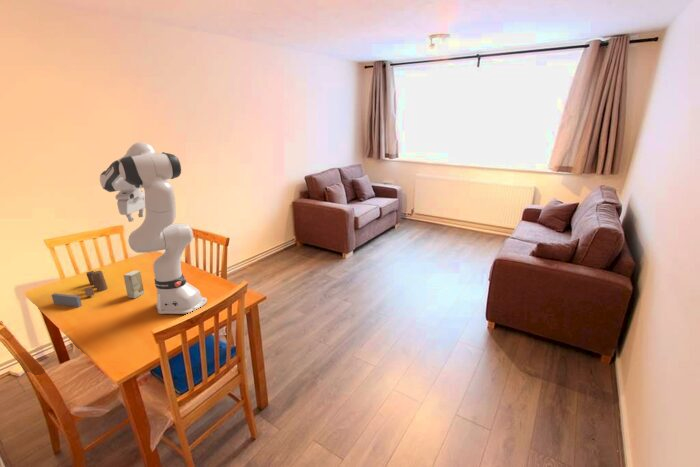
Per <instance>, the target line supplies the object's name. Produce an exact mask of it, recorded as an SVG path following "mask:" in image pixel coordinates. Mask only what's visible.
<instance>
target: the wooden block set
mask: <svg viewBox="0 0 700 467" xmlns="http://www.w3.org/2000/svg"><path fill="white" fill-rule="evenodd" d="M86 276H87V279H88V282H89V285H93V286H88V287H85V288H84V289H83V290H84V292H85V296H86V297H87V298H88V297H91V296H94V295H95V291H94V289H96V290H97V292H104V291H107V290H108V285H107V282H106V279H105V276H104V273H103V271H102V270H97V271H94V270H90V271H87V272H86Z"/></svg>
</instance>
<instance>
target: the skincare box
mask: <svg viewBox="0 0 700 467" xmlns="http://www.w3.org/2000/svg"><path fill="white" fill-rule="evenodd" d="M123 279H124V285H125V289H126V290H125V291H126V295H127V298H129V299H137V298H138V297H139V296H140V297H141V296H142V295H144V294H145V289H144V284H143V279H142V272H141V271H140V270H132V271H129V272H126V273H125V274H123Z"/></svg>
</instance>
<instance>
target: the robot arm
mask: <svg viewBox="0 0 700 467" xmlns="http://www.w3.org/2000/svg"><path fill="white" fill-rule="evenodd" d="M181 173H182V165H181V161H180V160H179V158H178V157H177V155H175V154H173V153H169V152H163V151H161V153H160V152H159V153H157V152H156V150H155V148H154V147H153V146H152V145H151V144H149V143H147V142H143V141H142V142H141V141H139V142H136V143H134V144H132V145H131V146H130V147H129V148H128V150H127V151H126V153H125V155H123V156H122V157H120V158H118V159H117V160H114V161H113V162H112V163H110V165H109V166H108V167H107V168H106V170H104V171H102V172H101V173H100V175H99V183H100V186H101V188H102V189H103V190H105V191H107V192H108V193H112V192H117V194H116V195H115V200H117V203H116V204H117V209H118V213H119V214H120V216H121V215H122V216H125V217H126V218H127V220H128V222H129V223H131V222H134V221H135V219H134V217H132V213H135V212H138V214H137V215H138V218H143V217H144V216H145V218H144V220H143V222H142V223H141V225H140V226H139V227H137V228H136V229H134V230H133V231H132V232H130V235H128V238H127V239H128V240H127V241H128V245H129V247H130V249H131V250H132V251H133V252H134V253H137V254H142V253H146V254H147V253H154V252H158V251H164V253H163V254H162V255H160V256H159V257H157V258H156V259H155V260H154V262H153V265H152V267H153V273H154V285H155V288H156V294H157V295H156V298H157V299H156V306H155V307H156V309H157V313H158V314H161V315H163V314H164V315H165V314H168V315H169V314H170V315H172V314H174V315H175V314H177V315H178V314H179V315H180V314H181V315H182V314H183V315H185V314H187V313H189V314H191V313H190V312H192V311H194V310H196V309H198V308H200V307H201V308H203V307H204V306H205V305H206V303H207V302H208V299H207V297H204V296H202V294H201V292H200V290H199V289H198V288H196V287H195V286H193V285H192V284H191V283H188V282H187V280H188V276H186V277H185V276H184V274H183V273H182V268H181V267H182V265H181V262H182V261H181V259H182V254H183V252H184V250H185V249H186V248H187V246H188V245H189V244H191V243H192V241H193V238H194V231H193V229H192V228H191V226H190V225H189V224H188V223H174V221H175V220H176V197H175V191H174V189H173V185H172V184H171V183H170V182H169V181H167V180H170V179H171V180H173V179H176V178H178V177H180V175H181ZM142 189H143V190H144V192H143V191H142ZM118 191H119V192H118ZM144 210H145V215H144ZM201 308H200V309H201ZM198 310H199V309H198ZM192 313H193V312H192Z"/></svg>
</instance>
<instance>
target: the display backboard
mask: <svg viewBox="0 0 700 467" xmlns="http://www.w3.org/2000/svg"><path fill="white" fill-rule="evenodd" d="M51 298H52V302H53V305H58V306H66V307H75V308H79V307H82V306H83V305H82V301H81V300H82V299H81V295H74V294H73V295H72V294H66V293H64V294H63V293H55V292H54V293H52V294H51Z"/></svg>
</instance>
